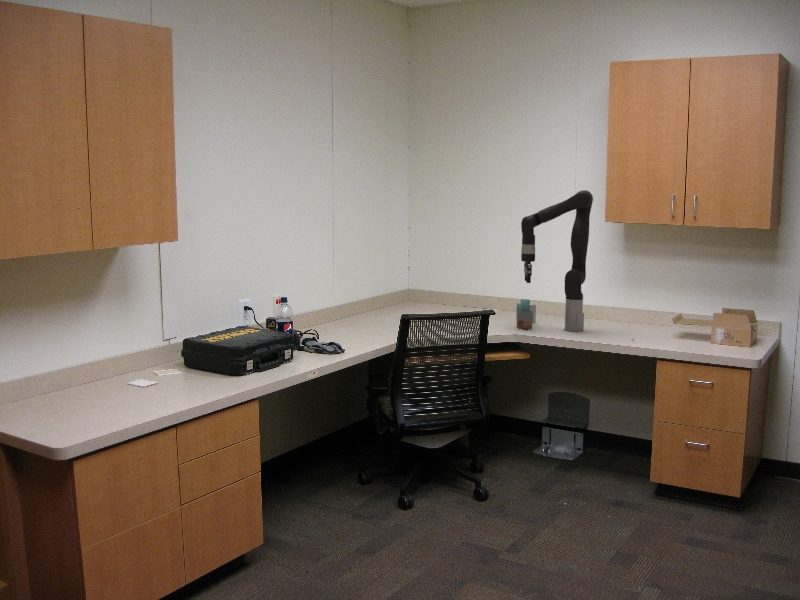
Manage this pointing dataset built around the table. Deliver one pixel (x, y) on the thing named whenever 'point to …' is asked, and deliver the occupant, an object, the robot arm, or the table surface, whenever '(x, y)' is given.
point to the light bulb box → (532, 308)
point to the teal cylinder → (525, 305)
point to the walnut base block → (524, 324)
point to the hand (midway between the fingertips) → (527, 282)
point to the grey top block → (524, 315)
